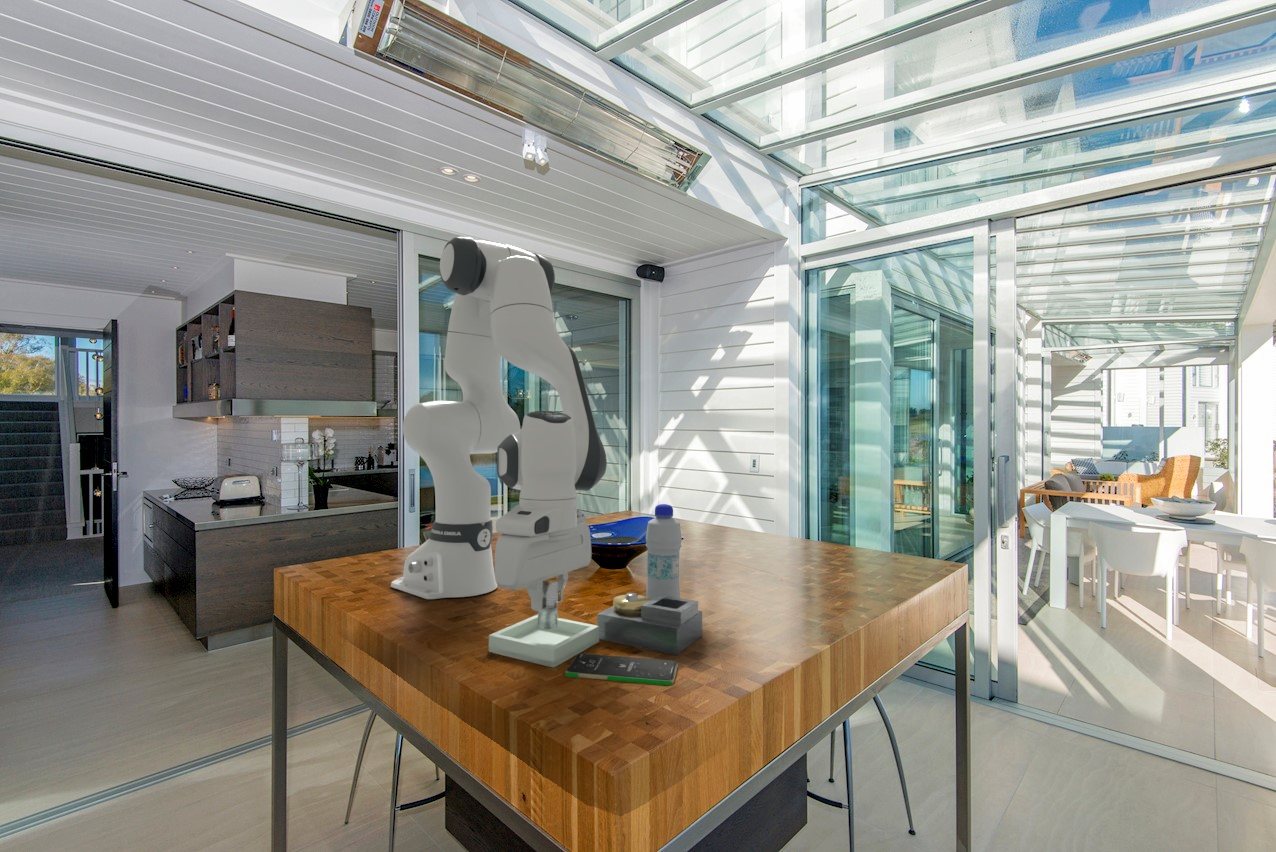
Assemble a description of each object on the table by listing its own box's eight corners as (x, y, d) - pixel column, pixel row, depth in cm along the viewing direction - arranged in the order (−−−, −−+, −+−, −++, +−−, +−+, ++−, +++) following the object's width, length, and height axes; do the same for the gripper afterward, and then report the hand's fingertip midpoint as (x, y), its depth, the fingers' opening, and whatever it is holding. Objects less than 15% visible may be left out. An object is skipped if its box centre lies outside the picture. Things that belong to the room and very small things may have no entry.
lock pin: (533, 627, 91) (534, 571, 91) (545, 621, 94) (546, 567, 94) (549, 630, 90) (550, 573, 90) (561, 624, 93) (561, 569, 93)
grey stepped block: (596, 638, 96) (597, 598, 96) (627, 621, 105) (627, 585, 105) (676, 655, 89) (677, 612, 89) (701, 635, 98) (702, 596, 98)
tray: (488, 651, 90) (488, 635, 90) (538, 628, 100) (538, 614, 100) (553, 667, 84) (554, 649, 84) (598, 641, 94) (599, 625, 95)
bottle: (678, 619, 106) (679, 506, 106) (641, 616, 108) (642, 505, 108) (683, 608, 113) (684, 502, 113) (648, 605, 114) (649, 501, 114)
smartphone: (673, 681, 79) (563, 672, 81) (673, 689, 79) (563, 679, 81) (678, 659, 86) (578, 651, 89) (678, 666, 86) (577, 658, 89)
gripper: (569, 507, 103) (568, 588, 103) (487, 522, 85) (486, 620, 85) (600, 510, 100) (600, 593, 100) (522, 526, 82) (521, 627, 82)
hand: (547, 606), depth 92 cm, fingers closed on lock pin, 3 cm apart
